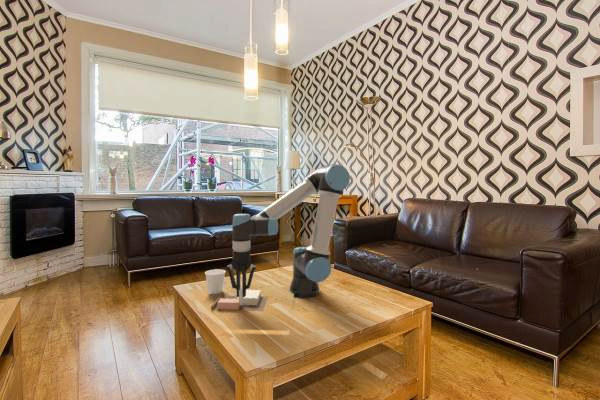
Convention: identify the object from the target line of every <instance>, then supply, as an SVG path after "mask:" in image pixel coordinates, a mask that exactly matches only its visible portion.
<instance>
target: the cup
mask: <svg viewBox="0 0 600 400" xmlns="http://www.w3.org/2000/svg"><path fill="white" fill-rule="evenodd" d="M204 274H205V278H206V284H207V290H208V295H209V296H211V295H213V294H214V295H216V294H220V293H221V294H222V292H223V289H224V288H223V287H224V282H225V275H226V270H224V269H222V268H220V269H218V268H215V269H210V270H209V269H208V270H206V271H204Z"/></svg>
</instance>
